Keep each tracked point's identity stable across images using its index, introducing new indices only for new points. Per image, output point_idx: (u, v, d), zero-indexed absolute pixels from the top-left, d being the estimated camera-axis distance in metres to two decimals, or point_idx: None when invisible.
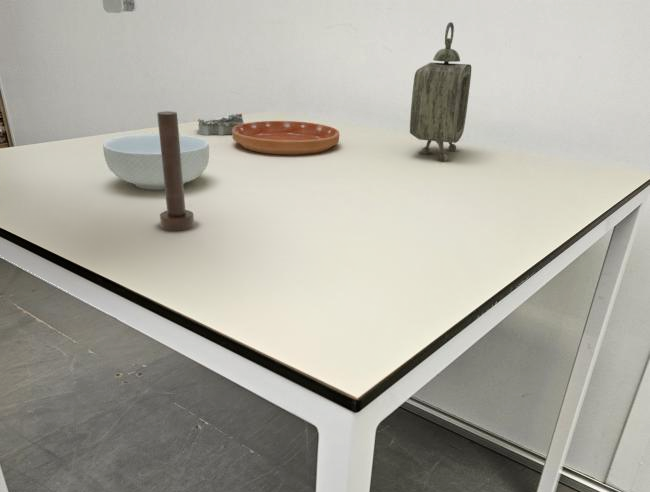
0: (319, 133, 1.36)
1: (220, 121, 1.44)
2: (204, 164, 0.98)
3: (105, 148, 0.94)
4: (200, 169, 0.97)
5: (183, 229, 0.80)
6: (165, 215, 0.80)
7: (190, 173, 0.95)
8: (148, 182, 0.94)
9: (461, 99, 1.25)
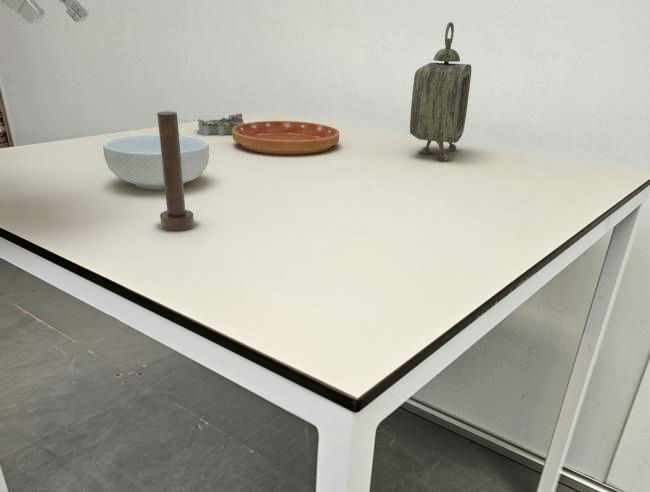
0: (319, 133, 1.36)
1: (220, 121, 1.44)
2: (204, 164, 0.98)
3: (105, 148, 0.94)
4: (200, 169, 0.97)
5: (183, 229, 0.80)
6: (165, 215, 0.80)
7: (190, 173, 0.95)
8: (148, 182, 0.94)
9: (461, 99, 1.25)
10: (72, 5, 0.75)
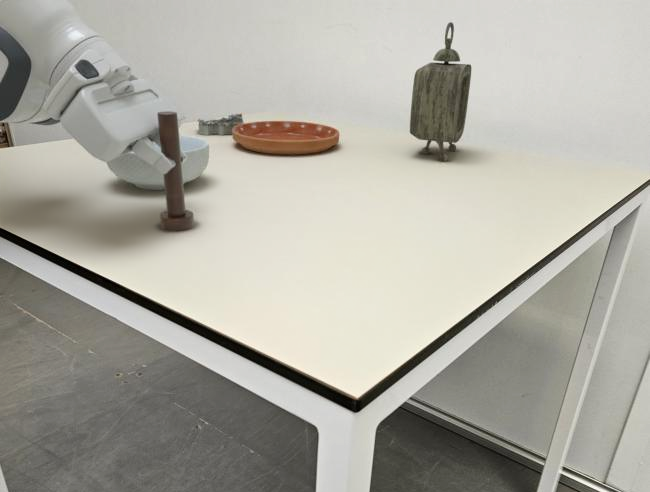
0: (319, 133, 1.36)
1: (220, 121, 1.44)
2: (204, 164, 0.98)
3: None
4: (200, 169, 0.97)
5: (183, 229, 0.80)
6: (165, 215, 0.80)
7: (190, 173, 0.95)
8: (148, 182, 0.94)
9: (461, 99, 1.25)
10: None
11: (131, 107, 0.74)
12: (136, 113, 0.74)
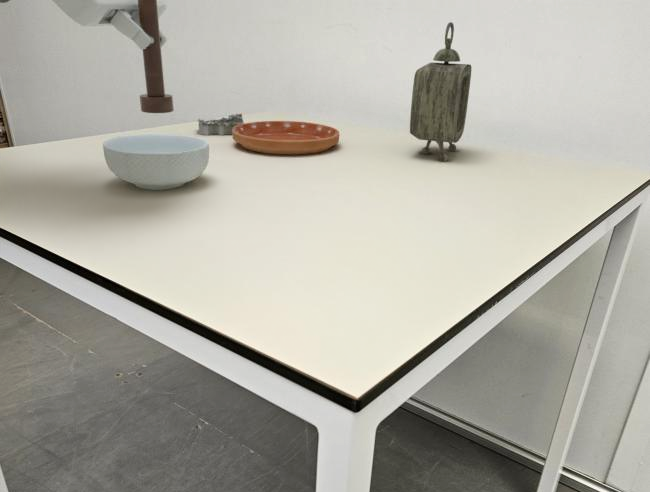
0: (319, 133, 1.36)
1: (220, 121, 1.44)
2: (204, 164, 0.98)
3: (105, 148, 0.94)
4: (200, 169, 0.97)
5: (162, 109, 0.82)
6: (145, 95, 0.83)
7: (190, 173, 0.95)
8: (148, 182, 0.94)
9: (461, 99, 1.25)
10: None
11: None
12: None
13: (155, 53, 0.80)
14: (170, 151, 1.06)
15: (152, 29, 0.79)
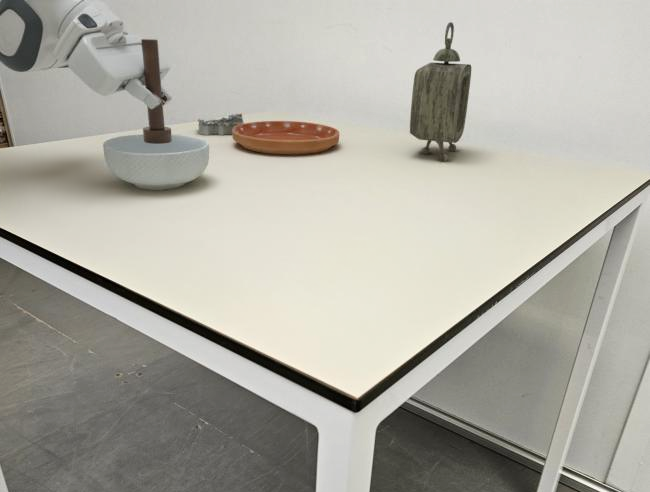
0: (319, 133, 1.36)
1: (220, 121, 1.44)
2: (204, 164, 0.98)
3: (105, 148, 0.94)
4: (200, 169, 0.97)
5: (162, 140, 0.96)
6: (147, 128, 0.97)
7: (190, 173, 0.95)
8: (148, 183, 0.94)
9: (461, 99, 1.25)
10: None
11: (124, 54, 0.92)
12: (128, 59, 0.92)
13: (156, 93, 0.94)
14: (170, 151, 1.06)
15: (154, 73, 0.92)
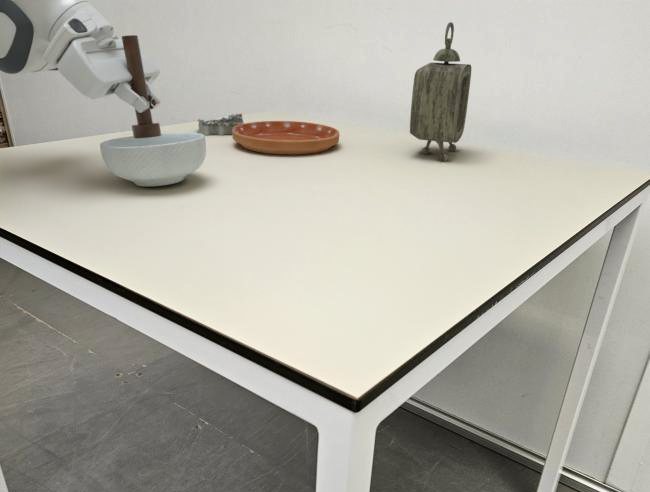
0: (319, 133, 1.36)
1: (220, 121, 1.44)
2: (201, 155, 0.97)
3: (102, 147, 0.94)
4: (197, 160, 0.97)
5: (149, 134, 0.97)
6: None
7: (187, 164, 0.95)
8: (146, 177, 0.94)
9: (461, 99, 1.25)
10: (148, 97, 0.97)
11: (113, 59, 0.93)
12: (117, 63, 0.93)
13: (140, 88, 0.95)
14: None
15: (136, 68, 0.94)
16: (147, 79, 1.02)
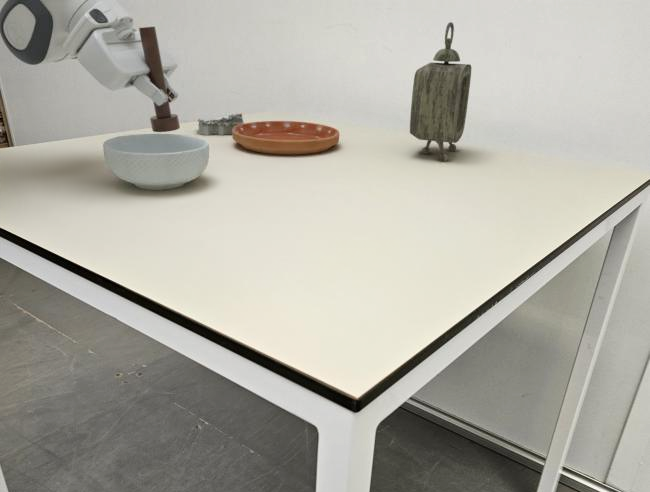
0: (319, 133, 1.36)
1: (220, 121, 1.44)
2: (204, 164, 0.98)
3: (105, 148, 0.94)
4: (200, 169, 0.97)
5: (167, 128, 0.96)
6: (154, 117, 0.97)
7: (190, 173, 0.95)
8: (148, 182, 0.94)
9: (461, 99, 1.25)
10: None
11: (133, 50, 0.92)
12: (137, 55, 0.92)
13: (158, 81, 0.94)
14: (170, 151, 1.06)
15: (154, 61, 0.92)
16: (165, 72, 1.01)
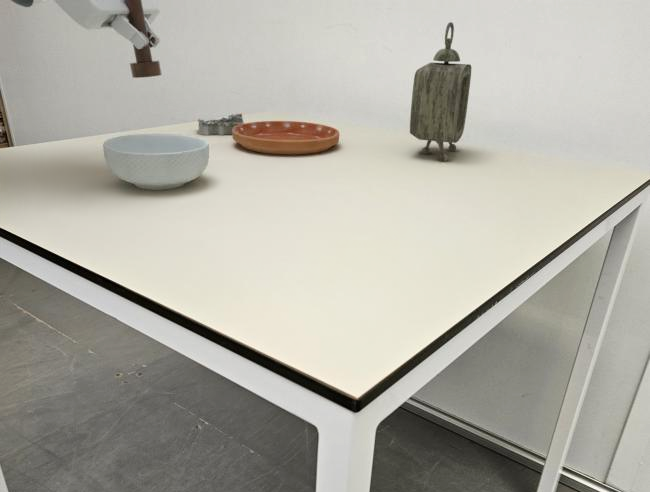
0: (319, 133, 1.36)
1: (220, 121, 1.44)
2: (204, 164, 0.98)
3: (105, 148, 0.94)
4: (200, 169, 0.97)
5: (147, 73, 0.91)
6: None
7: (190, 173, 0.95)
8: (148, 182, 0.94)
9: (461, 99, 1.25)
10: None
11: None
12: None
13: (138, 22, 0.89)
14: (170, 151, 1.06)
15: (133, 0, 0.88)
16: (146, 18, 0.96)
